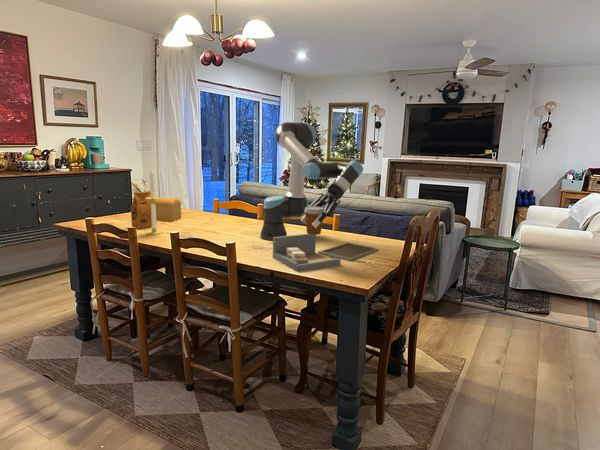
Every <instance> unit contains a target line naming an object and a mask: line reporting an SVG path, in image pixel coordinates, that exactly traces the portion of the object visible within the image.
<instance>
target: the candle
mask: <svg viewBox="0 0 600 450" xmlns="http://www.w3.org/2000/svg"><path fill="white" fill-rule="evenodd" d="M149 179H150V180H149V182H150V184H149V185H150V187H149V188H150V192H151V197H146V198H145V199H149V200H151V218H152V227H151V230H150V229H149V230H147V231H145V232H146V233H148V234H147V235H156V234H155V233H156V232H159V230H160V229H157V228H158V227H157V221H156V204H155V199H160V197H161V196H156V194H155V193H156V191H155V172H154V171H153V168H151V169H150V172H149ZM146 233H145V234H146Z"/></svg>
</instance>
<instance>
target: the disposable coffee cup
mask: <svg viewBox="0 0 600 450" xmlns="http://www.w3.org/2000/svg"><path fill="white" fill-rule="evenodd" d="M324 208H325V207H323V206H321V207H318V206H308V207H305V210H304V211H305V216H306V223H305V225H306V234H311V235H316V236H317V235H321V233H322V227H323V221H322V222H321V223H320V224H319V225H318V227H317V228H315V227H314V226H313V225H312V223H313V222H314V221H315V220H316V218H317V217H318V216H319V215H320V214H322V213H321V212H323V211H324ZM322 215H323V214H322Z"/></svg>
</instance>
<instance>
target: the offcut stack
mask: <svg viewBox="0 0 600 450" xmlns="http://www.w3.org/2000/svg"><path fill="white" fill-rule="evenodd" d="M284 256H285V257H287V258H289V259H291V260H293V261H295V262H297V263H298V264H305V263H309V259H308V258H307V257H306V254H305V253H304V252H303V251H301V250H300V249H299V248H297V247H286V252H285V255H284Z"/></svg>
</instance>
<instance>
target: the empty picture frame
mask: <svg viewBox="0 0 600 450" xmlns="http://www.w3.org/2000/svg"><path fill="white" fill-rule="evenodd" d="M378 251H379V248H378V247H377V248H376V247H373V246H367V245H363V244H358V243H353V242H345V243H342V244H339V245H335V246H332V247H328V248H325V249H323V250H318V254H319V255H323V256H327V257H328V258H329V259H331V260H333V259H341V260H345V261H348V262H352V261H355V260H357V259H361V258H363V257H365V256H368V255H371V254H373V253H376V252H378Z"/></svg>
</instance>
